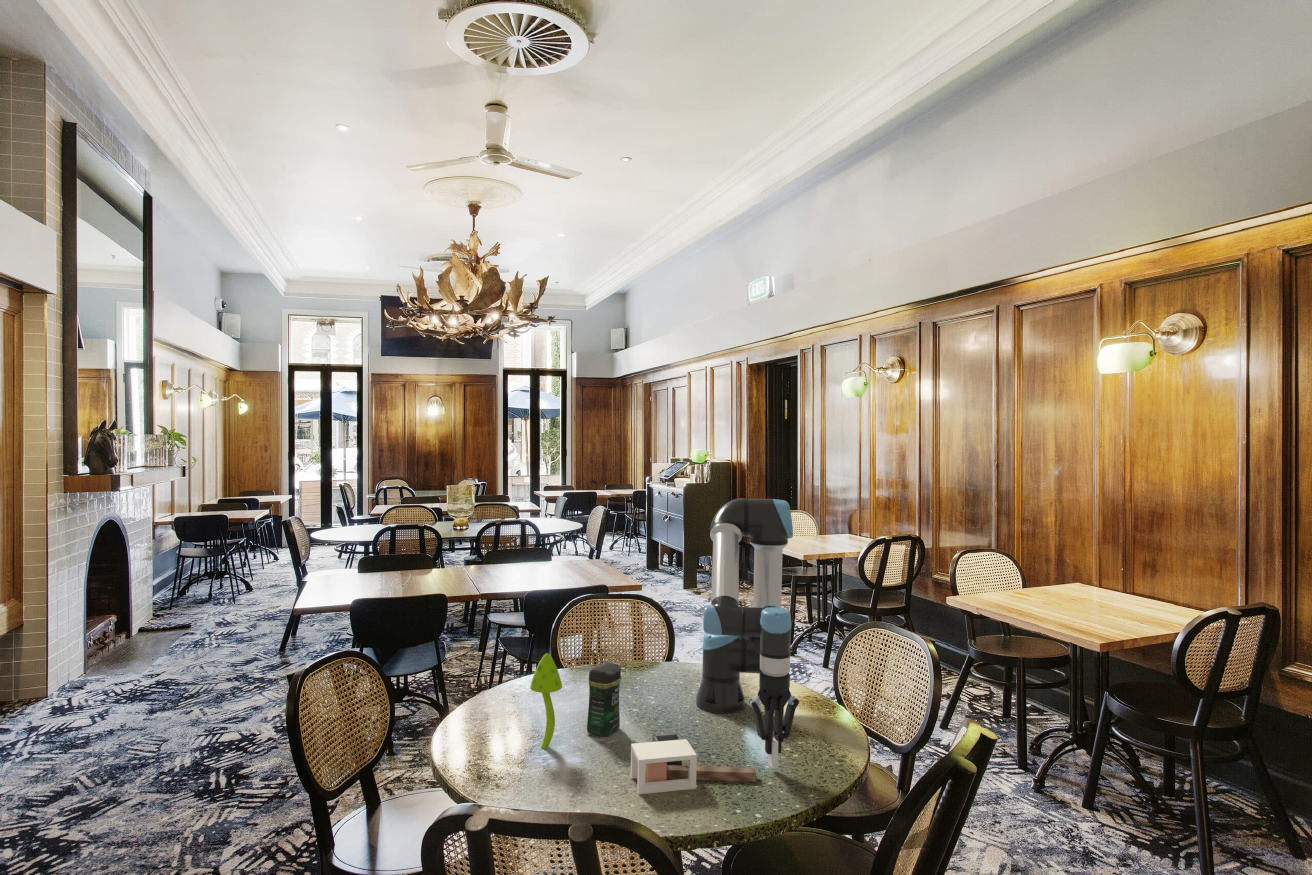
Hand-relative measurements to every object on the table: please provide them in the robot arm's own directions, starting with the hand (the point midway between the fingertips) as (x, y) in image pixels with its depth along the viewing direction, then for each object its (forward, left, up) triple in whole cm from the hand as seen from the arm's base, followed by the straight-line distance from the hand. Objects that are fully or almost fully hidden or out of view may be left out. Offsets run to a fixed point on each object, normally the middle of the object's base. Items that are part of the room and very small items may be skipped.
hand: (772, 765), depth 177 cm
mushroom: (+54, -25, -2) cm, 60 cm away
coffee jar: (+37, -32, -2) cm, 49 cm away
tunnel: (+28, -3, -1) cm, 29 cm away
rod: (+16, 0, -2) cm, 16 cm away
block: (+30, 0, -2) cm, 30 cm away
